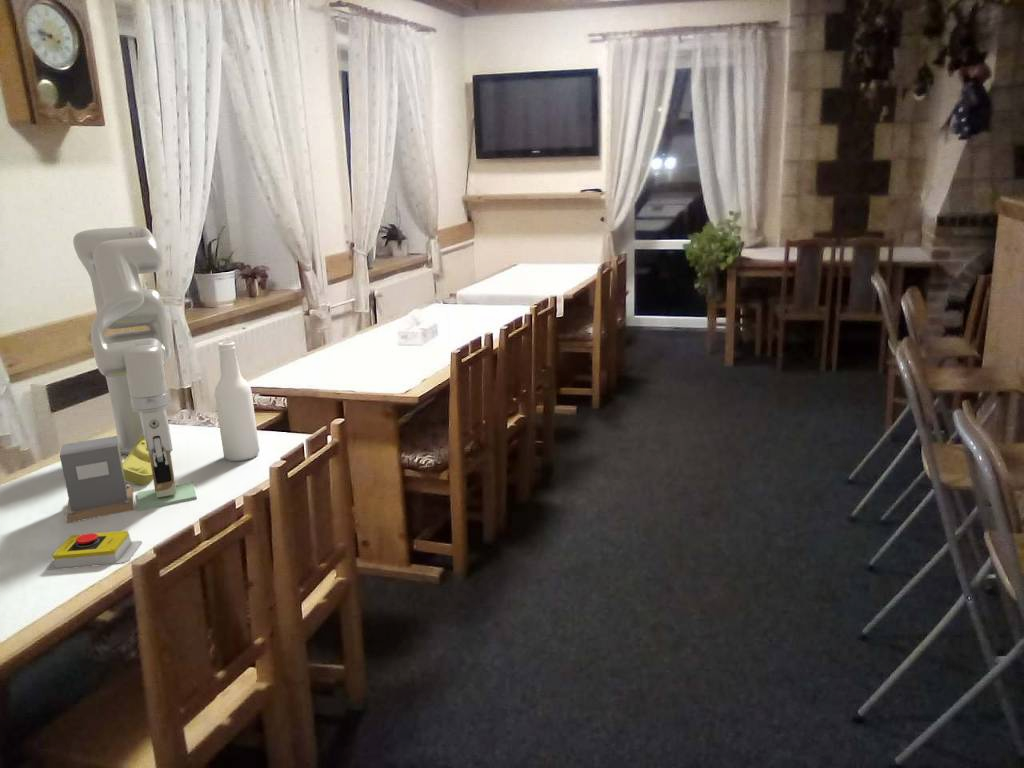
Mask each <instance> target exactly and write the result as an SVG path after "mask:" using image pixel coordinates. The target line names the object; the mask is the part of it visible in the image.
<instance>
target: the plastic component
mask: <svg viewBox="0 0 1024 768" xmlns="http://www.w3.org/2000/svg"><path fill="white" fill-rule="evenodd" d="M171 452H172V451H171ZM171 452H170V454H172V453H171ZM126 456H127V457H126V458H125V459H124V460H123V461H122V464H123V469H124V475H125V480H126V483H127V482H128V483H129V484H130V483H131V484H133V485H136V486H147V485H149V484H150V483H151V482H153V481H154V480H153V474H152V468H151V462H150V456H149V451H148V448H147V445H146V441H145V437H144V434H143V435H142V436H141V437H140V439H139V440H138V442H137V443H136V445H135V446H134V448H133V449H132V451H131V452H130V453H129V455H126Z"/></svg>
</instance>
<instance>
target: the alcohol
mask: <svg viewBox="0 0 1024 768" xmlns="http://www.w3.org/2000/svg"><path fill="white" fill-rule="evenodd" d="M235 344H236V343H235V342H234V341H231V340H230V341H221V342H219V343H218V344H217V346H218V348H217V349H218V351H219V362H220V363H219V365H220V377H219V378H220V380H219V381H218V383H217V385H216V386H215V390H214V398H215V404H216V405H215V406H216V410H217V419H218V426H219V432H220V433H219V434H220V439H221V445H222V452H223V457H224V458H225V459H226V460H227V461H229V460H230V461H229V462H243V460H245V461H249V460H252V459H254V458H256V457H257V456H258V455H259V453H260V444H259V437H258V431H257V429H258V428H257V422H256V421H257V420H256V417H255V409H254V401H253V399H254V398H253V394H252V392H253V391H252V388H251V385H250V383H249V382H248V381H247V380H246V378H245V379H244V378H243V376H242V374H241V370H240V366H239V362H238V358H237V353H236V346H235ZM255 456H256V457H255ZM253 457H254V458H253ZM251 458H252V459H251ZM248 459H249V460H248Z"/></svg>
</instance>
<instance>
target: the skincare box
mask: <svg viewBox="0 0 1024 768" xmlns="http://www.w3.org/2000/svg"><path fill="white" fill-rule="evenodd" d="M153 440H154V439H153ZM160 442H161V440H160ZM153 449H154V448H153ZM151 451H152V450H151ZM162 451H164V449H162ZM154 453H156V450H154ZM171 454H172V453H170V451H166V456H167V462H168V464H169V466H170V472H171V478H172V481H170V482H165V483H160V484H157V483H156V478H155V473H154V467H153V466H154V460H153V455H150V454H149V456H150V462H151V468H152V474H153V480H152V481H153V485H154V489H155V492H156V497H157V498H158V497H163V496H169V495H174V494H177V492H176V485H177V484H176V480H175V479H176V478H175V474H174V473H175V472H174V468H173V467H174V466H173V461H172V455H171ZM163 456H164V455H163ZM156 457H157V456H156Z"/></svg>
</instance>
